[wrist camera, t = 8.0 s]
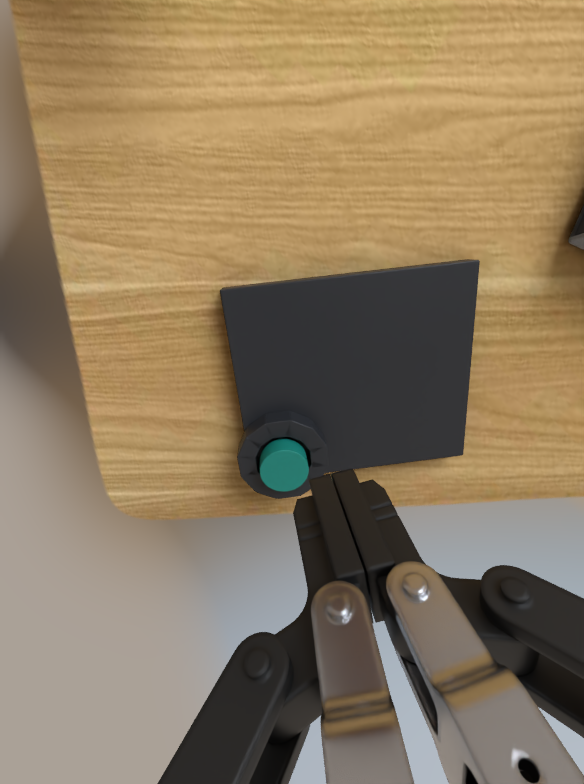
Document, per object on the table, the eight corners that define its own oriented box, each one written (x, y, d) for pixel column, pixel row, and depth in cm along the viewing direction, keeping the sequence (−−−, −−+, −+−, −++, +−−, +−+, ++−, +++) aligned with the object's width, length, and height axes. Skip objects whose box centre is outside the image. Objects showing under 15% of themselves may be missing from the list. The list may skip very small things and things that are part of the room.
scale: (247, 478, 28) (246, 503, 26) (213, 288, 23) (206, 294, 20) (454, 452, 29) (474, 473, 26) (468, 259, 23) (495, 260, 21)
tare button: (263, 480, 26) (263, 494, 24) (257, 441, 24) (256, 453, 23) (308, 475, 26) (310, 488, 24) (304, 435, 24) (306, 447, 23)
